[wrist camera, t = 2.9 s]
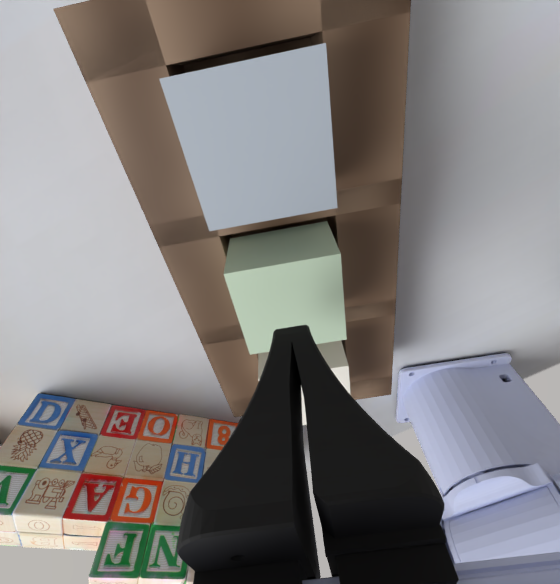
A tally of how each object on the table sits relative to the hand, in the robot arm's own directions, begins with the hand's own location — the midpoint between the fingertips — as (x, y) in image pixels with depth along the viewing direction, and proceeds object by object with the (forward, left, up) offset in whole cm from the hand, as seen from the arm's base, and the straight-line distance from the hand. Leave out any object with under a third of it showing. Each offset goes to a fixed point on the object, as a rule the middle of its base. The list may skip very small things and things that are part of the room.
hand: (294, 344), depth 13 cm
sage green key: (0, 0, -6) cm, 6 cm away
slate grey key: (0, -7, -6) cm, 9 cm away
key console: (0, 0, -9) cm, 9 cm away
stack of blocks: (+16, +18, -10) cm, 26 cm away
